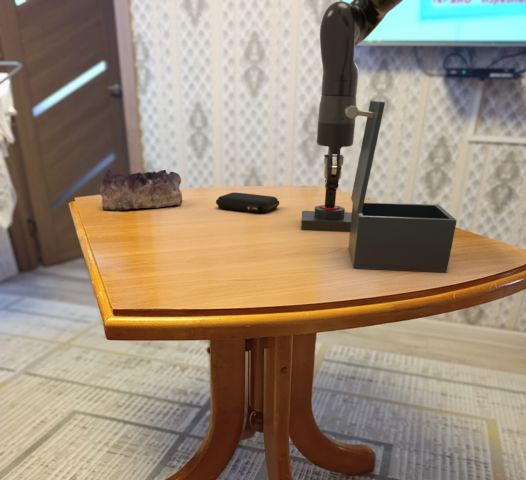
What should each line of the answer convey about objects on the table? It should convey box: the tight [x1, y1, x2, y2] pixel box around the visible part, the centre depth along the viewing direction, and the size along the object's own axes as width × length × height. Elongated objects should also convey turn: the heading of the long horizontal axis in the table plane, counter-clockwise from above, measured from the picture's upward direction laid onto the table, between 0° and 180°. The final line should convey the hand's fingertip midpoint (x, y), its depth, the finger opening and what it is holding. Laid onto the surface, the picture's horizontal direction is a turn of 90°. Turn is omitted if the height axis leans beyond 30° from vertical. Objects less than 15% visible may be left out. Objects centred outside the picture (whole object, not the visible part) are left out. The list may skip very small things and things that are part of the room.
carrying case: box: [215, 192, 280, 214], centre depth 127 cm, size 11×3×15 cm
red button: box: [322, 205, 338, 210], centre depth 112 cm, size 4×4×2 cm
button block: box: [300, 204, 352, 233], centre depth 113 cm, size 12×10×4 cm
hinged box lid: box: [345, 100, 386, 214], centre depth 84 cm, size 16×13×5 cm
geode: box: [99, 169, 183, 212], centre depth 126 cm, size 20×12×10 cm, turn 125°
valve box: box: [347, 201, 457, 274], centre depth 90 cm, size 16×13×9 cm
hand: (329, 206), depth 112 cm, fingers closed
